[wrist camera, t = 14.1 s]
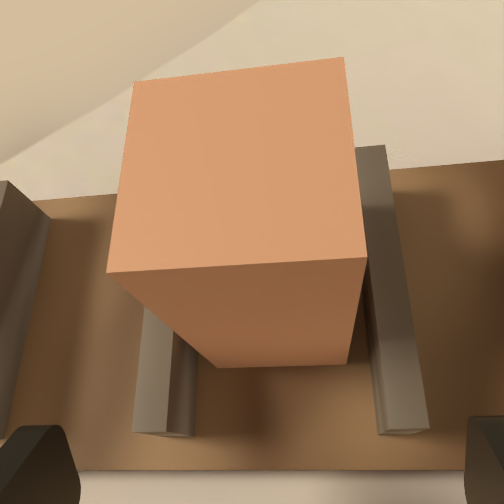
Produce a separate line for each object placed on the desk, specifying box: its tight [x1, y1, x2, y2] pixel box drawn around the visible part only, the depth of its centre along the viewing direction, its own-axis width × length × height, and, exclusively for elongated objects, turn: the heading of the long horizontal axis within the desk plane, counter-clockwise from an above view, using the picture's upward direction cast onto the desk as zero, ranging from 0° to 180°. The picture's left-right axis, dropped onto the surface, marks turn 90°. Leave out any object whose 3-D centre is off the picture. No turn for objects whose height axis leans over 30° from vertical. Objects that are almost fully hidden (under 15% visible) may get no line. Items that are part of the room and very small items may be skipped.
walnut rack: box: [0, 145, 504, 470], centre depth 16 cm, size 23×11×4 cm, turn 90°
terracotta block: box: [106, 57, 367, 368], centre depth 13 cm, size 4×4×9 cm
